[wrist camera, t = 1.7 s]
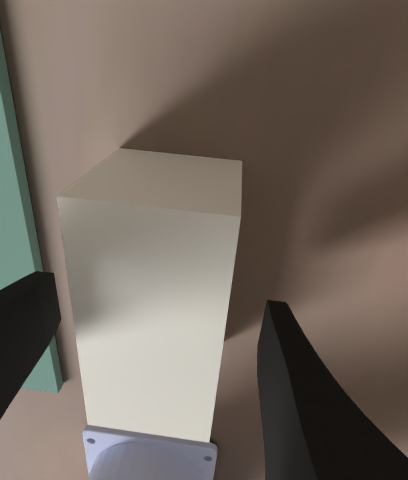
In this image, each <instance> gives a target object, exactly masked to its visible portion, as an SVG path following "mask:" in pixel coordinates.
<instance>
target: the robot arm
mask: <svg viewBox="0 0 408 480" xmlns="http://www.w3.org/2000/svg"><path fill="white" fill-rule="evenodd" d="M60 321H61V315H60V309H59V302H58V296H57V290H56V284H55V278H54V273H49V272H41V271H35V272H33V273H31V274H29V275H27V276H25V277H23V278H21V279H19V280H17V281H16V282H14V283H12V284H10V285H8V286H6V287H5V288H3V289H1V290H0V419H1V418H2V416H3V414H4V413H5V411H6V409H7V408H8V406H9V405H10V403H11V402H12V400H13V399H14V397H15V396H16V394H17V393H18V391H19V390H20V388H21V387H22V385H23V384H24V382H25V381H26V379H27V378H28V376H29V375H30V373H31V372H32V370H33V369H34V367H35V366H36V364H37V363H38V361H39V360H40V358H41V357H42V355H43V354H44V352H45V350H46V349H47V347H48V346H49V344H50V342H51V340H52V338H53V336H54V334H55V332H56V330H57V327H58V325H59V323H60ZM257 377H258V387H259V397H260V407H261V417H262V426H263V436H264V447H265V478H266V480H408V457H406V456H405V455H404V454H403V453H402V452H401V451H400V450H399V449H398V448H397V447H396V446H395V445H394V444H393V443H392V442H391V441H390V440H389V439H388V438H387V437H386V436H385V435H384V434H383V433H382V432H381V431H380V430H379V429H378V428H377V427H376V426H375V425H374V424H373V423H372V422H371V421H370V420H369V419H368V418H367V417H366V416H365V415H364V413H363V412H362V411H361V410H360V409H359V408H358V407H357V406H356V404H355V403H354V402H353V401H352V400H351V398H350V397H349V396H348V395H347V394H346V393H345V391H344V390H343V389H342V388H341V386H340V385H339V384H338V382H337V381H336V380H335V379H334V377H333V376H332V374H331V373H330V372H329V370H328V369H327V368H326V366H325V365H324V363H323V362H322V360H321V359H320V358H319V356H318V355H317V353H316V352H315V350H314V348H313V347H312V345H311V344H310V342H309V341H308V339H307V337H306V336H305V334H304V333H303V331H302V329H301V327H300V326H299V324H298V322H297V320H296V319H295V317H294V315H293V313H292V311H291V309H290V308H289V306H288V304H287V303H286V302H279V301H271V300H267V303H266V308H265V312H264V317H263V322H262V327H261V332H260V336H259V341H258V352H257ZM83 441H84V447H85V454H86V460H87V467H88V473H89V476H88V479H87V480H213V477H214V471H215V465H216V459H217V450H218V449H217V446H216V445H215V444H213V443H210V442H209V443H208V442H201V441H194V440H187V439H181V438H174V437H167V436H160V435H154V434H147V433H140V432H133V431H127V430H120V429H113V428H106V427H100V426H93V425H87V426H86V427H85V428H84V431H83Z"/></svg>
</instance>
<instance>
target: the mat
mask: <svg viewBox="0 0 408 480" xmlns="http://www.w3.org/2000/svg"><path fill="white" fill-rule="evenodd" d="M35 271H41V272H43V267H42V261H41V256H40V250H39V244H38V239H37V233H36V227H35V222H34V216H33V210H32V205H31V199H30V194H29V188H28V182H27V177H26V171H25V165H24V160H23V154H22V148H21V143H20V137H19V132H18V126H17V120H16V115H15V109H14V103H13V98H12V92H11V86H10V81H9V75H8V69H7V64H6V58H5V53H4V47H3V41H2V36H1V30H0V290H1V289H3V288H5V287H6V286H8V285H10V284H12V283H14V282H16V281H17V280H19V279H21V278H23V277H25V276H27V275H29V274H31V273H33V272H35ZM62 385H63V380H62V374H61V368H60V363H59V357H58V351H57V346H56V340H55V335H54V336H53V338H52V340H51V342H50V344H49V346H48V347H47V349H46V350H45V352H44V354H43V355H42V357H41V358H40V360H39V361H38V363H37V364H36V366H35V367H34V369H33V370H32V372H31V373H30V375H29V376H28V378H27V379H26V381H25V382H24V384H23V385H22V387H21V388H26V389H33V390H40V391H47V392H54V393H59V391H60V389H61V387H62Z"/></svg>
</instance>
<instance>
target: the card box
mask: <svg viewBox="0 0 408 480" xmlns="http://www.w3.org/2000/svg"><path fill="white" fill-rule="evenodd" d="M241 196H242V161H239V160H229V159H219V158H210V157H200V156H191V155H181V154H171V153H162V152H152V151H143V150H133V149H124V148H119V149H117V150H116V151H115V152H114V153H112V154H111V155H110V156H108V157H107V158H106V159H104V160H103V161H102V162H101V163H99V164H98V165H97V166H95V167H94V168H93V169H91V170H90V171H89V172H87V173H86V174H85V175H84V176H82V177H81V178H80V179H78V180H77V181H76V182H74V183H73V184H72V185H71V186H69V187H68V188H67V189H65V190H64V191H63V192H61V193H60V194H59V195H57V203H58V211H59V218H60V225H61V232H62V240H63V247H64V254H65V262H66V269H67V276H68V284H69V291H70V298H71V306H72V313H73V320H74V327H75V335H76V342H77V349H78V357H79V364H80V371H81V379H82V386H83V393H84V401H85V408H86V415H87V422H88V425H93V426H100V427H106V428H113V429H120V430H127V431H133V432H140V433H147V434H154V435H160V436H167V437H174V438H181V439H187V440H194V441H201V442H208V443H209V441H210V434H211V427H212V420H213V413H214V405H215V398H216V391H217V384H218V377H219V370H220V363H221V356H222V349H223V342H224V334H225V327H226V320H227V313H228V306H229V299H230V292H231V285H232V278H233V271H234V263H235V256H236V249H237V242H238V235H239V228H240V221H241Z"/></svg>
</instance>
